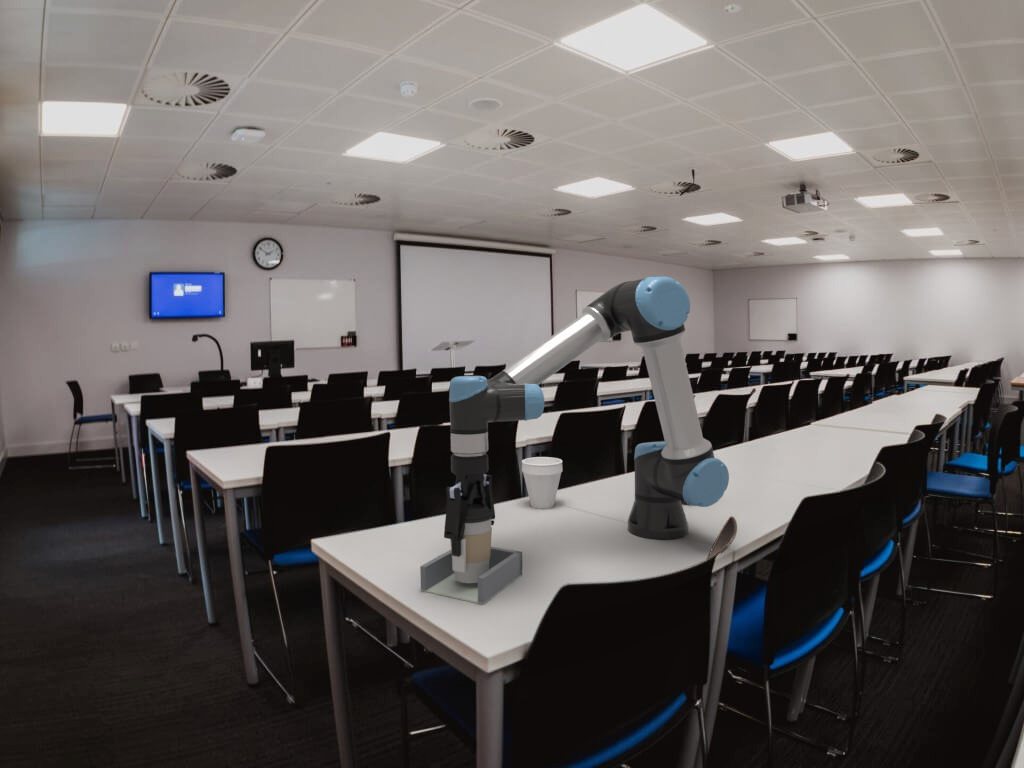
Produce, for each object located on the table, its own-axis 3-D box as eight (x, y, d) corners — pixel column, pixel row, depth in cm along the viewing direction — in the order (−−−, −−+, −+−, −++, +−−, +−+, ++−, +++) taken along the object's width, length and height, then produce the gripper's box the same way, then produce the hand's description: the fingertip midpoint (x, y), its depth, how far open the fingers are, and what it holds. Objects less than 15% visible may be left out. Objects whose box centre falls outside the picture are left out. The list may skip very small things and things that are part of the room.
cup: (546, 498, 191) (546, 455, 190) (571, 506, 181) (571, 461, 180) (514, 504, 184) (513, 459, 183) (537, 513, 174) (537, 466, 173)
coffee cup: (449, 569, 128) (448, 499, 127) (492, 567, 129) (491, 497, 128) (449, 586, 119) (447, 511, 118) (495, 584, 120) (493, 509, 119)
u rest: (522, 575, 128) (522, 551, 128) (483, 604, 114) (483, 578, 114) (464, 564, 135) (464, 542, 135) (420, 590, 121) (420, 566, 120)
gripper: (480, 443, 133) (482, 544, 135) (422, 461, 115) (425, 578, 116) (510, 445, 130) (512, 549, 131) (456, 464, 111) (458, 585, 113)
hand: (471, 563), depth 124 cm, fingers closed on coffee cup, 8 cm apart
